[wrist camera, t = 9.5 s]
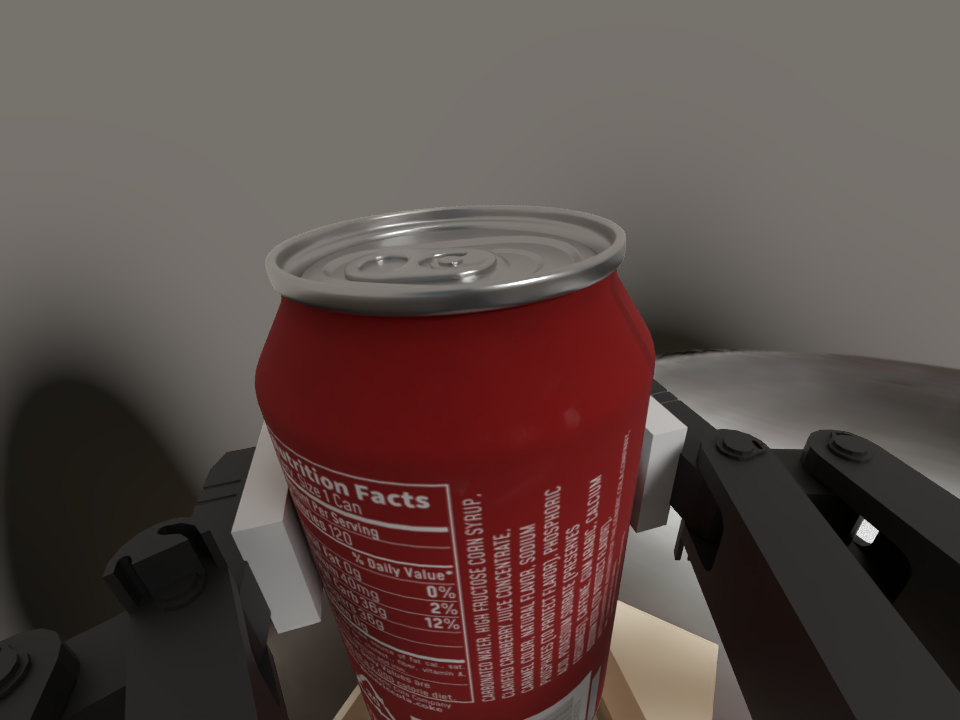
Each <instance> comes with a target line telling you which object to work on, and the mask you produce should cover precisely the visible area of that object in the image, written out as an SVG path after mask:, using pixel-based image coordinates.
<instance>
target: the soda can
mask: <svg viewBox="0 0 960 720" xmlns="http://www.w3.org/2000/svg"><path fill="white" fill-rule="evenodd" d="M625 246H626V235H625V232H624V230H623V229H622V228H621V227H620V226H618V225H617V224H615V223H614V222H612V221H610V220H608V219H605V218H603V217H600V216H596V215H593V214H589V213H585V212H579V211H573V210H567V209H560V208H550V207H538V206H518V205H481V206H480V205H479V206H477V205H476V206H453V207H439V208H428V209H417V210H408V211H400V212H392V213H386V214H379V215H373V216H367V217H362V218H357V219H352V220H347V221H343V222H338V223H334V224H330V225H327V226H323V227H319V228H316V229H313V230H310V231H307V232H304V233H301V234H299V235H296V236H294V237H292V238H290V239H288V240H286V241H284V242H282V243H280V244H279V245H278V246H276V247H275V248H273V249H272V251H271V252H270V253H269V254H268V255H267V258H266V262H265V264H266V270H267V274H268V277H269V280H270V282H271V284H272V287H273V288H274V289H275V290H276V291H277V292H278V293H279V294H281V297H282V299H281V304H280V306H279V309H278V312H277V314H276V317H275V319H274V322H273V324H272V327H271V330H270V332H269V335H268V337H267V340H266V343H265V345H264V348H263V350H262V353H261V355H260V358H259V362H258V365H257V368H256V375H255V389H256V396H257V400H258V404H259V406H260V409H261V412H262V415H263V418H264V420H265V423H266V426H267V429H268V432H269V434H270V437H271V440H272V443H273V446H274V448H275V451H276V454H277V457H278V460H279V463H280V465H281V468H282V471H283V474H284V477H285V479H286V482H287V485H288V488H289V491H290V493H291V496H292V499H293V502H294V505H295V507H296V510H297V513H298V516H299V519H300V522H301V524H302V527H303V530H304V533H305V536H306V538H307V541H308V544H309V547H310V550H311V552H312V555H313V558H314V561H315V564H316V566H317V569H318V572H319V575H320V578H321V580H322V583H323V586H324V589H325V592H326V595H327V597H328V600H329V603H330V606H331V609H332V611H333V614H334V617H335V620H336V623H337V625H338V628H339V631H340V634H341V637H342V639H343V642H344V645H345V648H346V651H347V654H348V656H349V659H350V662H351V665H352V668H353V670H354V673H355V676H356V679H357V682H358V684H359V687H360V690H361V693H362V696H363V698H364V701H365V704H366V707H367V710H368V712H369V715H370V718H371V720H594V718H595V716H596V713H597V710H598V707H599V704H600V701H601V697H602V692H603V688H604V682H605V676H606V670H607V663H608V657H609V651H610V645H611V638H612V632H613V626H614V620H615V613H616V607H617V601H618V595H619V588H620V582H621V576H622V570H623V563H624V557H625V551H626V545H627V538H628V532H629V526H630V520H631V513H632V507H633V501H634V495H635V488H636V482H637V476H638V469H639V463H640V457H641V451H642V444H643V438H644V432H645V426H646V419H647V413H648V407H649V401H650V394H651V388H652V382H653V376H654V368H655V349H654V343H653V340H652V337H651V334H650V332H649V329H648V328H647V326H646V324H645V323H644V321H643V319H642V318H641V315H640V314H639V312H638V310H637V308H636V307H635V305H634V303H633V301H632V300H631V298H630V296H629V295H628V293H627V291H626V290H625V288H624V286H623V284H622V283H621V281H620V279H619V277H618V275H617V268H618V267H619V266H620V264H621V263H622V261H623V258H624V255H625Z"/></svg>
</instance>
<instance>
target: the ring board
mask: <svg viewBox="0 0 960 720" xmlns="http://www.w3.org/2000/svg"><path fill="white" fill-rule="evenodd" d="M717 656H718V645H717V644H715V643H712V642H710V641H708V640H706V639H703V638H701V637H699V636H697V635H694V634H692V633H690V632H688V631H685V630H683V629H681V628H679V627H676V626H674V625H672V624H670V623H667V622H665V621H663V620H661V619H659V618H656V617H654V616H652V615H650V614H647V613H645V612H643V611H641V610H638V609H636V608H634V607H632V606H629V605H627V604H625V603H623V602H620V601H617V607H616V613H615V620H614V626H613V632H612V638H611V645H610V651H609V657H608V663H607V670H606V676H605V682H604V688H603V692H602V697H601V701H600V704H599V707H598V710H597V713H596V716H595V718H594V720H712V713H713V701H714V690H715V679H716V667H717ZM333 720H371V718H370V715H369V712H368V710H367V707H366V704H365V701H364V698H363V696H362V693H361V690H360V687H359V684H358V685H357V686H356V688H355V689H354V691H353V692H352V693H351V695H350V696H349V698H348V699H347V700H346V702H345V703H344V705H343V706H342V708H341V709H340V710H339V712H338V713H337V715H336V716H335V717H334V719H333Z"/></svg>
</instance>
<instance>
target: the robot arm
mask: <svg viewBox="0 0 960 720" xmlns="http://www.w3.org/2000/svg"><path fill="white" fill-rule="evenodd" d="M203 489H204V490H203V491H201V494H200V496H199V499H198V501H197V506H195V508H194V511H193V513H192V516H191V517H179V518H174V519H170V520H167V521H164V522H161V523H158V524H156V525H154V526H152V527H150V528H148V529H146V530H145V531H142V532H141V533H139V534H137V535H136V536H135V537H133V538H132V539H131V540H130V541H128V542H127V543H126V544H124V545H123V546H122V547H121V548H120V549H119V550H118V551H117V553H116V554H115V555H114V556H113V557H112V559H111V560H110V561H109V562H108V564H107V567H106V570H105V572H104V575H103V577H102V578H103V579H104V580H105V582H106V583H107V585H108V586H109V587H110V589H111V590H112V591H113V593H114V594H115V595H116V597H117V598H118V600H119V601H120V602H121V604H122V605H123V607H124V608H125V609H126V611H124V612H123V613H121V614H119V615H117V616H115V617H114V618H112V619H110V620H108V621H106V622H104V623H101V624H100V625H97V626H95V627H93V628H91V629H89V630H87V631H85V632H83V633H81V634H79V635H77V636H75V637H73V638H71V639H69V640H67V641H65V642H64V640H63V639H62V638H61V637H60V636H59V635H58V634H57V633H56V632H54V631H51V630H47V629H43V628H41V629H36V630H31V631H25V632H21V633H19V634H16V635H14V636H12V637H10V638H7V639H5V640H3V641H1V642H0V720H289V718H288V714H287V710H286V706H285V702H284V698H283V694H282V690H281V686H280V682H279V678H278V674H277V670H276V666H275V662H274V658H273V655H272V653H271V651H270V649H269V647H268V645H267V643H266V642H267V636H268V630H269V624H270V617H271V619H272V621H273V623H274V626H275V628H276V630H277V632H278V634H279V633H283V632H287V631H290V630H294V629H297V628H301V627H304V626H308V625H311V624H315V623H318V622H321V607H322V590H323V583H322V580H321V578H320V575H319V572H318V569H317V566H316V564H315V561H314V558H313V555H312V552H311V550H310V547H309V544H308V541H307V538H306V536H305V533H304V530H303V527H302V524H301V522H300V519H299V516H298V513H297V510H296V507H295V505H294V502H293V499H292V496H291V493H290V491H289V488H288V485H287V482H286V479H285V477H284V474H283V471H282V468H281V465H280V463H279V460H278V457H277V454H276V451H275V448H274V446H273V443H272V440H271V437H270V434H269V432H268V429H267V426H266V423H265V420H264V422H263V426H262V429H261V433H260V436H259V439H258V443H257V446H256V447H252V448H247V449H241V450H236V451H231V452H227V453H226V454H225V455H224V456H223V457H222V458H221V459H220V460H219V461H218V462H217V463H216V464H215V465H214V466H213V467H212V468H211V470H210V472H209V474H208V477H207V479H206V482H205V484H204V487H203ZM670 505H671V506H672V507H673V508H674V510H675V511H676V512H677V513H678V514H679V515H680V516H681V518H682V520H681V524H680V528H679V532H678V536H677V540H676V545H675V549H674V556H675V560H680V559H681V555H682V551H683V547H684V546H685V549H686V551H687V554H688V558H687V560H688V561H690V562H691V564H692V567H693V569H694V572H695V574H696V577H697V579H698V582H699V585H700V587H701V590H702V592H703V595H704V597H705V600H706V602H707V605H708V607H709V610H710V612H711V615H712V618H713V620H714V623H715V625H716V628H717V630H718V633H719V635H720V638H721V640H722V643H723V646H724V648H725V651H726V653H727V656H728V658H729V661H730V663H731V666H732V668H733V671H734V674H735V676H736V679H737V681H738V684H739V686H740V689H741V691H742V694H743V696H744V699H745V701H746V704H747V707H748V709H749V712H750V714H751V717H752V719H753V720H960V499H959V498H957V497H955V496H954V495H952V494H951V493H949V492H948V491H946V490H945V489H943V488H942V487H940V486H939V485H937V484H936V483H934V482H933V481H931V480H930V479H928V478H927V477H925V476H924V475H922V474H921V473H919V472H917V471H916V470H914V469H913V468H911V467H910V466H908V465H907V464H905V463H904V462H902V461H901V460H899V459H898V458H896V457H895V456H893V455H892V454H890V453H889V452H887V451H886V450H884V449H883V448H881V447H879V446H878V445H876V444H874V443H872V442H871V441H869V440H867V439H865V438H863V437H860V436H857V435H854V434H852V433H849V432H845V431H838V430H819V431H816V432H813V433H811V434H810V436H809V438H808V440H807V442H806V445H805V447H804V449H770V448H769V447H768V446H767V445H766V444H765V443H763V442H762V441H761V440H759V439H757V438H755V437H753V436H751V435H749V434H746V433H743V432H740V431H736V430H728V429H718V430H716V429H715V428H714V427H713V426H711V425H710V424H709V423H708V422H707V421H705V420H704V419H703V418H702V417H700V416H699V415H698V414H697V413H695V412H694V411H693V410H692V409H690V408H689V407H688V406H687V405H685V404H684V403H683V402H682V401H678V400H677V397H675V396H674V395H673V394H672V393H670V392H667V389H665V388H664V387H663V386H662V385H660V384H659V383H658V382H657V381H655V380H654V379H653V382H652V388H651V394H650V401H649V407H648V413H647V419H646V426H645V432H644V438H643V444H642V451H641V457H640V463H639V469H638V476H637V482H636V488H635V495H634V501H633V507H632V513H631V520H630V525H631V526H632V528H633V529H634V530H635V532H636V533H638V532H642V531H645V530H649V529H653V528H656V527H660V526H663V525H666V523H667V519H668V514H669V510H670ZM864 519H865V520H867V521H868V522H869V523H870V524H871V525H873V526H874V527H875V528H876V529H877V530H879V532H878V534H877V536H876V538H875V540H874V541H873V543H872V544H870V543H867V542H865V541H864V540H862V539H861V538H860V537H859V536H857V535H856V533H857V531H858V529H859V527H860V525H861V524H862V522H863V520H864Z"/></svg>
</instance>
